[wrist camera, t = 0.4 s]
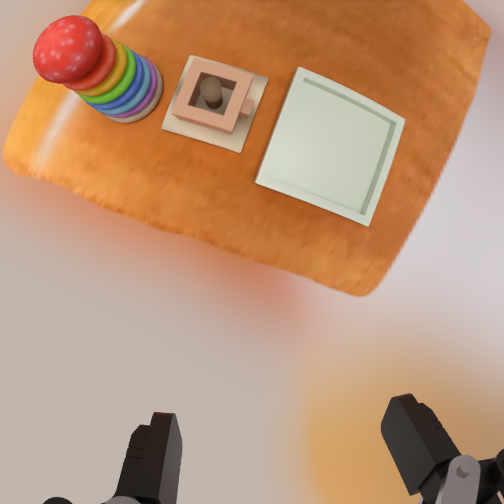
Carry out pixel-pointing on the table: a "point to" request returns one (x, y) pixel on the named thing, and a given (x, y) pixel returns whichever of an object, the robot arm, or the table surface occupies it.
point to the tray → (330, 147)
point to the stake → (215, 110)
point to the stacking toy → (98, 69)
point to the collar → (228, 79)
